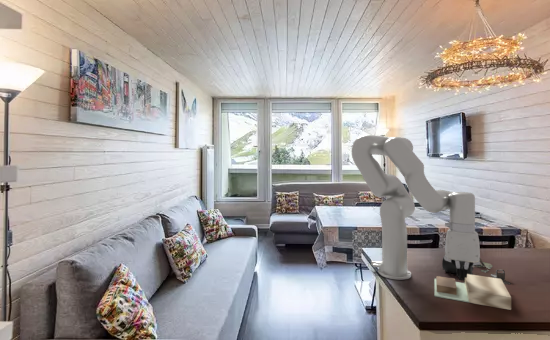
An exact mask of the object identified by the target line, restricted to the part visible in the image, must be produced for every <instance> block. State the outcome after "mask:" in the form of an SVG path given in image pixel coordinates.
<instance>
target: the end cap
mask: <svg viewBox="0 0 550 340" xmlns="http://www.w3.org/2000/svg"><path fill="white" fill-rule="evenodd" d="M444 257H445V255H443V258H442V260H441V261H442V263H441V264H442V266H441V267H442V270H443V271H444V272H446V273H451V274H455V275H457V267H456V266H455V265H454V264H453V263H452V262H449V261H446V260H445V259H444ZM459 263H460V265H461V268H462V266H463V265H464V261H459ZM474 268H475V267H473V266H471V267H469V268H468V269H467V274H470V275H474V273H473V271H474Z"/></svg>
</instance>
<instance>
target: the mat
mask: <svg viewBox="0 0 550 340" xmlns="http://www.w3.org/2000/svg"><path fill="white" fill-rule="evenodd" d="M433 280H434V282H433V285H434V286H433V288H434V289H433V290H434V296H433V297H435V298H442V299H448V300H453V301H458V302H465V303H469V299H468V295H467V291H466V286H465V282H459V281H455V282H456V287H457V295H453V294H447V293H442V292H437V284H436V278H434V279H433Z"/></svg>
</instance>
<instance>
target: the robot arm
mask: <svg viewBox="0 0 550 340" xmlns="http://www.w3.org/2000/svg"><path fill="white" fill-rule="evenodd" d="M373 155H374V156H385V157H386V156H387V157H388V158H389V159H390V161H391V162H392V164H393V165H394V166H395V167H396V168H397V170H398V171H399V173H401V174H402V176H403V178H404V180H405V183H406V187H407V188H408V190H409V192H410V194H411V195H412V196H413V198H414V199H415V200H416V202H417V203H418V204H419V205H420V207H421V208H422V209H424V210H425V211H426V212H429V213H433V214H434V213H439V212H442V211H446V210H447V211H449V221H448V222H444V227H445V228H447V230H446V236H445V249H444V250H445V251H444V254H445V257H444V256H443V257H444V259H445V260H446V261H449V262H452V263H453V264H454V265H455V266H456V267H457V274H456V277H458V279H459V281H463V282H465V278H467V269H468V268H469V267H471V266H472V265H480V264H481V263H480V259H481V252H480V251H481V250H480V249H481V248H480V239H479V233H478V232H477V231H476V226H475V225H476V224H475V223H476V198H475V197H476V196H475V194H474V193H473V192H468V191H450V190H445V189H435V188H434V186H432V184H431V183H430V182H429V180H428V179H427V176H426V173H425V165H424V162H422V160H421V159H420V158H419V157H418V156H417V154H415V152H414V146H413V143H412V141H410V139H408V138H406V137H402V136H401V137H400V136H384V135H375V134H362V135H360V136H358V137H357V138H356V139H355V140H354V141H353V144H352V147H351V158H352V160H353V162H354V164H355V166H356V168H357V170H358V171H359V172H360V174H361V176H362V178H363V179H364V181H365V183H366V185H367V187H368V188H369V190H370V191H371V193H372V195H374V197H376V198H385V200H384V201H383V202H382V203H381V204H380V207H379V215H380V222H381V248H382V249H381V254H382V255H381V258H382V259H381V260H379V261H375V260H371V262H370V264H371V266H373V268H378V270H377V272H378V274H379V275H380V276H382V277H384V278H387V279H390V280H397V281H398V280H400V281H401V280H402V281H403V280H408V279H411V278H412V272H411V271H410V270H409V269H408V230H407V229H408V228H407V222H406V219H407V218H409V217H411V216H412V215H413V214H414V212H415V210H416V206H415V202H414V200H413V198H412V197H411V195H410V194H409V192H408V190H407V189H406V187H405V185H404V184H403V182H402V181H401V180H400V179H399V178H398V177H397V176H396V175H394V174H391V173H390V174H389V173H387V174H386V173H385V170H383V168H382V167H381V165H380V163H379V162H378V161H377V160H376V159H375V158H374V156H373ZM448 228H449V229H448ZM459 261H464V265H463V266H462V268H461V265H460V263H459ZM472 267H473V266H472Z"/></svg>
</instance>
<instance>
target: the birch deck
mask: <svg viewBox="0 0 550 340" xmlns="http://www.w3.org/2000/svg"><path fill="white" fill-rule="evenodd" d="M464 283H465V286H466V291H467V295H468V299H469V302H468V303H470V304H475V305H481V306H487V307H492V308H497V309H504V310H508V311H509V310H510V311H511V310H512V296H511V294H510V292H509V291H508V289H507V287H506V284H504V283H503V281H502V279H499V278H493V277H492V276H483V275H476V274H473V275H470V274H467V278H465V281H464Z"/></svg>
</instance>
